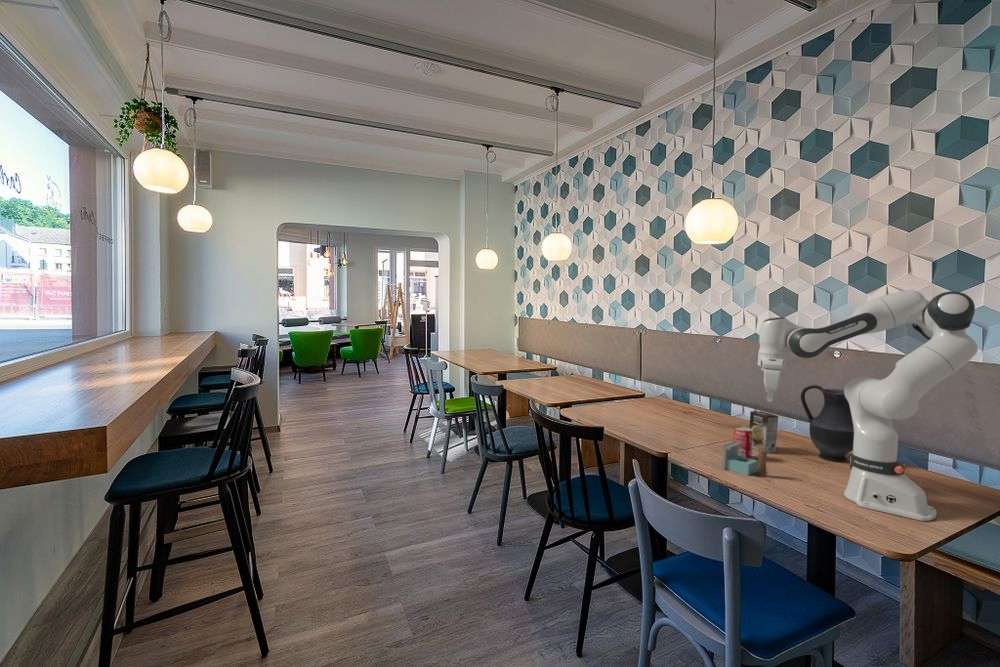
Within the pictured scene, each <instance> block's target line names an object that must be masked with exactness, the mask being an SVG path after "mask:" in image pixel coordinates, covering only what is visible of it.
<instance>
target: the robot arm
mask: <svg viewBox="0 0 1000 667" xmlns="http://www.w3.org/2000/svg"><path fill="white" fill-rule="evenodd" d="M975 307H976V306H975V302H974V300H973V299H972V298H971V297H970V296H969V295H967V294H966V293H963V292H960V291H955V290H953V291H945V292H941V293H939V294H937V295H935V296H934V297H933V298H932V299H931V300H928V299H926V297H925V296H924V295H923V294H922V293H921V292H919V291H917V290H912V289H909V290H902V291H896V292H892V293H889V294H884V295H882V296H879V297H875V298H874V299H870V300H868V301H866V302H864V303H862V304H860V305H859V306H857V307H855V308H854V310H853V312H852V314H851V315H850V316H848V317H846V318H845V319H841V320H840V321H837V322H834V323H832V324H831V323H830V324H829V325H826V326H823V327H819V328H811V327H809V328H806V327H804V326H800V325H798V324H796V323H794V322H792V321H790V320H788V319H787V318H786V317H783V316H782V317H781V316H780V317H771V318H766V319H765V320H763V321H762V322H761V325H760V329H759V339H758V342H759V349H758V354H757V366H759V367H760V370H761V371H763V383H764V384H763V385H764V388H765V397H766V401H767V402H768V403H769V402H770V403H772V402H773V401H774V400H773V399H774V394H775V392H776V391H777V390H778V388H779V385H780V384H779V383H780V378H781V372H782V370H783V369H784V368H786V361H787V353H788V352H789V353H790V352H791V353H793V354H794V355H795V356H797V357H798V358H799V357H800V358H802V359H811V358H814V357H817V356H819V355H820V354H822V352H824V351H825V350H826V349H827V348H829V347H830V346H833V345H836V344H837V343H841V342H843V341H846V340H849V339H852V338H855V337H857V336H858V337H859V336H863V335H868V334H874V333H880V332H884V331H888V330H891V329H895V328H898V327H900V326H903V325H906V324H911V325H912V329H914V330H915V331H917V332H918V333H919V335H921V336H922V337H923V338H925V339H926V340H927V342H925V343H923V344H921V345H920V346H919V347H916V349H913V351H911V352H909V353H907V355H905V356H903V357H902V358H901V359H899V360H897V361H896V363H895V365H894V369H893V371H892V372H891V373H890V374H889V375H888V376H886V377H885V378H883V379H878V378H873V377H867V376H866V377H865V376H864V377H856V378H853V379H851V380H849V381H848V382H847V383H846V384H845V386H844V389H843V390H844V395H845V397H846V399H847V401H848V403H849V406H850V410H851V415H852V420H853V427H854V441H853V450H852V452H850V453H851V454H850V457H849V470H850V473H849V478H848V482H847V485H846V487H845V490H844V492H843V495H844V497H845V498H847V499H848V500H850V501H852V502H854V503H855V504H856V505H858V506H859V507H861V508H866V509H870V510H874V511H878V512H883V513H885V514H886V513H887V514H892V515H895V516H900V517H903V518H908V519H912V520H916V521H921V522H928V521H932V520H934V519H936V517H937V515H938V514H937V510H936V509H935V507H933V506H932V505H928V499H927V495H926V492H925V491H924V489H923V488H922V487H921V486H919V485H918V484H916V483H915V482H914V481H912V479H910V478H909V477H908V476H906V475H905V471H906V468H905V467H906V464H905V463H903V464H902V462H900V461H898V446H899V445H898V444H899V436H898V433H897V431H896V430H895V428H894V425H893V422H892V420H907V419H909V418H911V417H913V416H914V415H915V414H916V412H917V411H918V410H919V404H920V403H919V401H920V400H921V399H922V397H923V396H924V395H925V394H926V393H927V392H928V391H929V390H930V389H932V387H935V386H936V385H937V384H939V383H940V382H942V381H943V380H945V379H946V378H948V377H950V376H951V375H953V374H954V373H956V372H957V371H959V370H960V369H961V368H963V366H965V365H966V364H967V363H968V362H970V360H972V359H973V358H974V357H975V356H976V355H977V353H978V350H979V347H978V344H977V343H976V342H977V341H975V340H974V338H972V336H971V335H969V334H967V332H966V330H967V329H968V328H969V327H971V324H972V321H973V319H974V315H975V311H976V308H975Z"/></svg>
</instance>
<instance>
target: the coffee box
mask: <svg viewBox="0 0 1000 667" xmlns="http://www.w3.org/2000/svg"><path fill="white" fill-rule="evenodd" d="M749 413H750V415H749V429H751V432H752V434H753V445H752V450H756V451H758V452H759V448H765V449H767V454H771V453H776V452H777V451H776V449H777V437H778V427H779V426H778V424H779V415H776V414H774V413H773V414H772V413H770V412H765V411H762V410H759V411H758V410H753V411H752V410H751V411H750V412H749Z"/></svg>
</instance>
